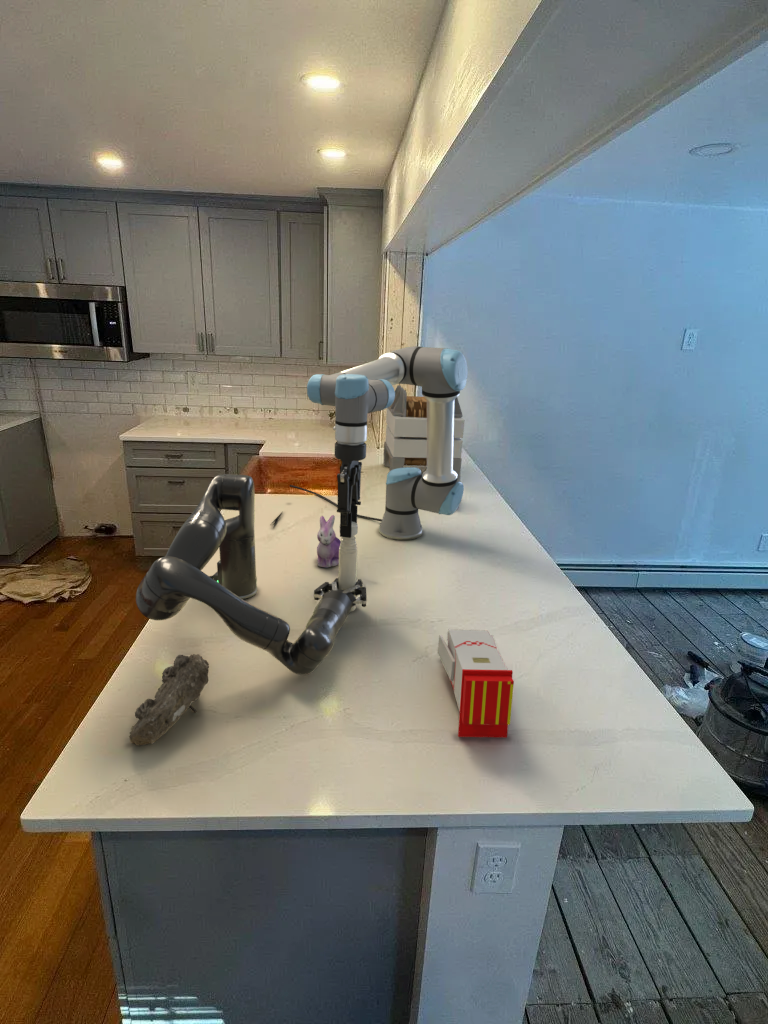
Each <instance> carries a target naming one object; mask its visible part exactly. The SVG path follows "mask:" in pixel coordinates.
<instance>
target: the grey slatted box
mask: <svg viewBox="0 0 768 1024" xmlns="http://www.w3.org/2000/svg"><path fill="white" fill-rule="evenodd" d="M394 391H395V398H394V401H393V403H392V405H391V406H389V407H388V408H386V413H385V414H386V415H385V423H386V428H385V438H384V442H383V466H384V467H388V468H389V472H390V471H391V470H393V469H397V468H405V466H406V467H409V466H411V467H417V466H418V467H427V399H426V398H425V397H424V396H415V395H414V396H413V395H412V396H411V395H407V394H408V393H407V390H406V389H404V388H403V387H402V385H401V384H397V386H396V388H395V389H394ZM464 429H465V419H464V418H463V411H462V408H461V405H460V402H459V398H458V397H457V398H456V399H455V406H454V447H453V470H454V471H455V472H456V473H457V481H458V482H459V481H460V482H461V472H462V461H463V460H462V453H463V442H464V441H463V440H462V439H463V438H464V431H465V430H464Z"/></svg>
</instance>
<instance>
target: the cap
mask: <svg viewBox="0 0 768 1024" xmlns="http://www.w3.org/2000/svg"><path fill="white" fill-rule="evenodd" d="M358 527H359V526H358V522H357V523H356V522H352V530H351V536H354V535H355V536H356V535H358V533H359V532H358V531H359V528H358Z"/></svg>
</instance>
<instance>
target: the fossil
mask: <svg viewBox="0 0 768 1024" xmlns="http://www.w3.org/2000/svg"><path fill="white" fill-rule="evenodd" d="M209 665H210V664H209V662H208V660H207V659H204V658H203V656H202V655H200V653H199V654H198V653H197V654H195V653H193V654H190V655H184V654H178V655H177V656H176V657H175V660H174V661H173V665H171V666H167V667H166V668H165V669H163V671H162V672H161V674H162V675H161V682H162V684H161V685H160V687H158V689H157V691H156V693H155V695H154V699H153V698H147V699H146V700H145V701H144V702H142V703H141V704H139V706H138V707H137V708H136V709H135V712H134V717H135V718H136V719H138V720H137V721H136V722H135V724H134V725H132V726H131V729H130V732H129V736H128V737H129V740H130V743H132V744H134V745H136V746H144V745H150V744H151V745H153V744H154V743H156V742H157V741H158V740H159V739H160V738H161V737H162V736H163V735H165V734H166V733H167V732H168V731H169V730H170V729H171V728H172V727H173V726H174V725H175V724H176V723H177V722H179V720H180V719H181V718H182V715H183V714H185V713H186V712H187V710H188V709H190V710H191V711H192V712H193V713H194V714H197V713H198V712H197V710H196V709H195V708H194V707H193V706H192V705H191V704H192V703H193V702H196V701H197V700H198V699H199V698H200V696H201V693H202V692H203V690H204V688H205V686H206V685H207V684H208V683H209V668H210V666H209Z"/></svg>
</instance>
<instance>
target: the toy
mask: <svg viewBox="0 0 768 1024" xmlns="http://www.w3.org/2000/svg"><path fill="white" fill-rule="evenodd" d="M446 640H447V643H446V641H445V639H444V636H443V635H442V634H439V637H438V646H437V656H438V657H439V659H440V661H441V663H442V666H443V668H444V670H445V672H446V674H447V677H448V679H449V681H450V684H451V687H452V690H453V693H454V697H455V701H456V705H457V708H458V711H459V714H458V715H459V716H458V730H457V731H458V732H457V737H458V738H508V731H509V726H510V725H511V717H512V707H513V697H514V696H513V695H514V684H515V680H514V679H513V673H514V671H513V670H512V669H508V667H507V665H506V662H505V661H504V659H503V658H502V655H501V653H500V651H499V649H498V647H497V643H496V639H495V637H494V635H493V634H491V632H490V631H489V629H467V628H466V629H465V628H463V629H461V628H460V629H459V628H448V630H447V639H446Z"/></svg>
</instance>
